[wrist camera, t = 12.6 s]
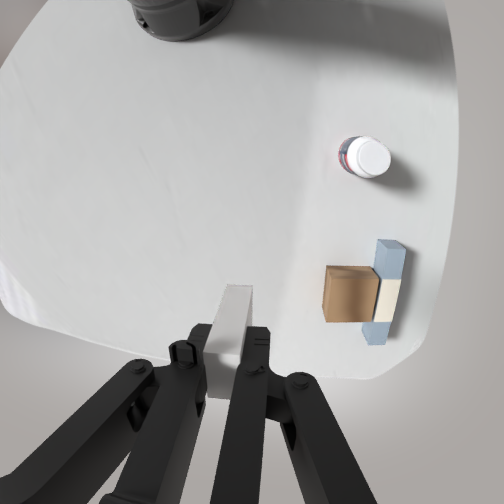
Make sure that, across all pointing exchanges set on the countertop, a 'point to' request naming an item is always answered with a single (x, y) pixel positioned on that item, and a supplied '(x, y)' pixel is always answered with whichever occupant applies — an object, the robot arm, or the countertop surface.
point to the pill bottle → (364, 156)
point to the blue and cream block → (385, 290)
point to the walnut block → (349, 293)
